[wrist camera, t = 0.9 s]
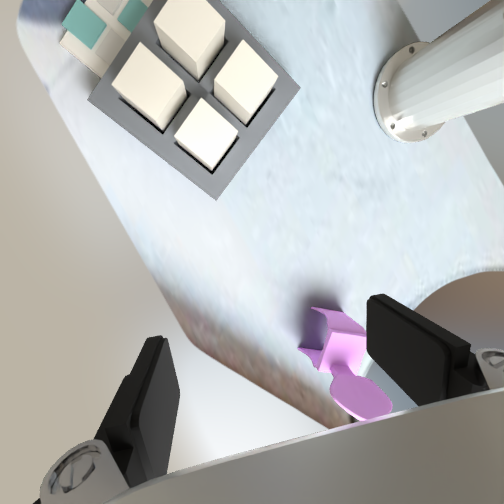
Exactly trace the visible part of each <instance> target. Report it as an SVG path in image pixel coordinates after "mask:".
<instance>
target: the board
mask: <svg viewBox="0 0 504 504" xmlns="http://www.w3.org/2000/svg"><path fill="white" fill-rule="evenodd" d="M167 1H168V0H86V2H85V4H83V3H82V2H81V1H80V0H76V2H75V4H74V5H73V7H72V8H71V10H70V12H69V13H68V15H67V16H66V18H65V19H64V21H63V23H62V26H63V27H65V28H66V29H67V32H66V33H65V35H64V37H63V38H62V40H61V41H60V43H59V44H60V45H61V46H62V47H63V48H65V49H66V50H67V51H68V52H70V53H71V54H72V55H73V56H74V57H76V58H77V59H78V60H79V61H81V62H82V63H83V64H84V65H85V66H87V67H88V68H89V69H90V70H91V71H93V72H94V73H95V74H96V75H98V76H99V77H100V78H101V80H100V81H99V83H98V84H97V86H96V87H95V89H94V90H93V92H92V93H91V95H90V96H89V98H88V99H87V100H88V101H89V102H91V103H92V104H93V105H94V106H96V107H97V108H98V109H100V110H101V111H102V112H103V113H105V114H106V115H107V116H108V117H110V118H111V119H112V120H114V121H115V122H116V123H117V124H119V125H120V126H121V127H123V128H124V129H125V130H126V131H128V132H129V133H130V134H132V135H133V136H134V137H135V138H137V139H138V140H139V141H140V142H142V143H143V144H144V145H146V146H147V147H148V148H149V149H151V150H152V151H153V152H155V153H156V154H157V155H158V156H160V157H161V158H162V159H164V160H165V161H166V162H167V163H169V164H170V165H171V166H172V167H174V168H175V169H176V170H178V171H179V172H180V173H181V174H183V175H184V176H185V177H187V178H188V179H189V180H190V181H192V182H193V183H194V184H196V185H197V186H198V187H199V188H201V189H202V190H203V191H204V192H206V193H207V194H208V195H210V196H211V197H212V198H213V199H215V200H217V199H218V198H219V196H220V195H221V194H222V192H223V191H224V190H225V188H226V187H227V186H228V184H229V183H230V182H231V180H232V179H233V178H234V176H235V175H236V174H237V172H238V171H239V170H240V168H241V167H242V166H243V164H244V163H245V162H246V160H247V159H248V158H249V156H250V155H251V153H252V152H253V151H254V149H255V148H256V147H257V145H258V144H259V143H260V141H261V140H262V139H263V137H264V136H265V135H266V133H267V132H268V131H269V129H270V128H271V127H272V125H273V124H274V123H275V121H276V120H277V119H278V117H279V116H280V115H281V113H282V112H283V111H284V109H285V108H286V107H287V105H288V104H289V103H290V101H291V100H292V99H293V97H294V96H295V95H296V93H297V92H298V91H299V89H300V86H299V85H298V84H297V83H296V82H295V81H294V80H293V79H292V78H291V77H290V76H289V75H288V74H287V73H286V71H285V70H284V69H283V68H282V67H281V66H280V65H279V64H278V63H277V62H276V61H275V60H274V59H273V58H272V56H271V55H270V54H269V53H268V52H267V51H266V50H265V49H264V48H263V47H262V46H261V45H260V44H259V43H258V41H257V40H256V39H255V38H254V37H253V36H252V35H251V34H250V33H249V32H248V31H247V30H246V29H245V27H244V26H243V25H242V24H241V23H240V22H239V21H238V20H237V19H236V18H235V17H234V16H233V15H232V14H231V12H230V11H229V10H228V9H227V8H226V7H225V6H224V5H223V4H222V3H221V2H220V1H219V0H206V1H207V2H208V3H209V4H210V5H211V6H212V7H213V8H214V9H215V10H216V11H217V12H218V13H219V14H220V15H221V16H222V18H223V19H224V20H225V33H224V46H223V48H222V49H221V50H220V52H221V53H220V54H219V56H218V57H217V59H216V60H215V61H214V63H213V64H212V66H211V67H210V68H209V70H208V71H207V73H206V74H205V76H204V77H203V78H202V80H201V81H200V83H198V82H197V81H196V80H195V79H194V78H192V77H191V76H190V75H189V74H188V73H187V72H186V71H185V70H184V69H183V68H182V67H181V66H179V65H178V64H177V63H176V62H175V61H174V60H173V59H172V58H171V57H170V56H169V55H168V54H167V52H166V51H165V50H164V49H163V48H162V46H161V43H160V40H159V37H158V34H157V31H156V28H155V25H154V20H155V19H156V17H157V16H158V14H159V13H160V11H161V10H162V8H163V7H164V5H165V4H166V2H167ZM242 40H244V41H245V42H246V43H247V44H248V45H249V46H250V47H251V48H252V49H253V50H254V51H255V52H256V53H257V54H258V55H259V56H260V58H261V59H262V60H263V61H264V62H265V63H266V64H267V65H268V66H269V67H270V68H271V69H272V70H273V71H274V72H275V73H276V74H277V75H278V78H277V80H276V82H275V84H274V85H273V87H272V89H271V91H270V93H269V94H268V95H267V97H266V98H267V99H268V101H267V102H266V103H265V105H264V106H263V107H262V109H261V110H260V111H259V113H258V114H257V115H256V117H255V118H254V119H253V121H252V122H251V124H250V125H249V126H248V128H246V127H245V126H244V125H243V124H242V123H241V122H240V121H239V120H238V119H237V118H236V117H235V116H233V115H232V114H231V113H230V112H229V111H228V110H227V109H226V108H225V107H224V106H223V105H222V104H221V103H219V102H218V101H217V100H216V99H215V96H214V79H215V78H216V76H217V75H218V74H219V72H220V71H221V69H222V68H223V66H224V65H225V64H226V62H227V61H228V59H229V58H230V57H231V55H232V54H233V52H234V51H235V50H236V48H237V47H238V45H239V44H240V43H241V41H242ZM139 42H141V43H142V44H143V45H144V46H145V47H146V48H147V49H149V50H150V51H151V52H152V53H153V54H154V55H155V56H156V57H157V58H158V59H160V60H161V61H162V62H163V63H164V64H165V65H166V66H167V67H168V68H169V69H171V70H172V71H173V72H174V73H175V74H176V75H177V76H178V77H179V78H180V79H182V80H183V82H184V86H185V90H186V94H187V101H186V103H185V104H184V105H183V107H182V108H181V110H180V111H179V112H178V114H177V115H176V117H175V118H174V120H173V121H172V122H171V124H170V125H169V127H168V128H167V129H166V131H165V132H164V134H161V133H160V132H159V131H158V130H156V129H155V128H154V127H153V126H152V125H150V124H149V123H148V122H147V121H145V120H144V119H143V118H142V117H140V116H139V115H138V114H137V113H136V112H134V111H133V110H132V109H131V108H130V107H131V106H132V105H130V104H129V103H128V102H127V101H126V100H125V99H124V98H123V97H122V96H121V95H120V94H119V92H118V91H117V90H116V89H115V88H114V87H113V86H112V85H111V84H112V83H113V81H114V80H115V78H116V77H117V75H118V74H119V72H120V71H121V69H122V68H123V66H124V65H125V63H126V62H127V60H128V59H129V57H130V56H131V54H132V53H133V51H134V50H135V48H136V47H137V45H138V44H139ZM201 98H202V99H204V100H205V101H206V102H207V103H208V104H209V105H210V106H211V107H212V108H213V109H215V110H216V111H217V112H218V113H219V114H220V115H221V116H222V117H223V118H224V119H225V120H227V121H228V122H229V123H230V124H231V125H232V126H233V127H234V128H235V129H236V130H238V133H237V135H236V138H235V140H234V142H235V143H236V144H235V145H234V146H233V148H232V149H231V151H230V152H229V153H228V155H227V156H226V157H225V159H224V160H223V161H222V163H221V164H220V165H219V167H218V168H217V169H216V171H215V172H214V174H213V175H212V174H211V173H209V172H208V171H207V170H206V169H204V168H203V167H202V166H201V165H199V164H198V163H197V162H196V161H195V160H193V159H192V158H191V157H190V156H188V155H187V154H186V153H185V152H183V151H182V150H181V149H180V148H179V146H180V145H179V143H178V142H177V140H176V138H175V137H174V135H175V134H176V133H177V131H178V130H179V128H180V127H181V126H182V124H183V123H184V121H185V120H186V119H187V117H188V116H189V114H190V113H191V112H192V110H193V109H194V107H195V106H196V104H197V103H198V102H199V100H200V99H201Z"/></svg>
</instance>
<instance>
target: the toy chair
mask: <svg viewBox="0 0 504 504" xmlns="http://www.w3.org/2000/svg"><path fill="white" fill-rule="evenodd" d="M311 309H313V310H316V311H319V312H321V313H322V314H324V315H325V316H326V318H327V326H328V332H327V336H326V339H325V343H324V346H323V349H322V350H314V349H307V348H298V350H299V351H301V352H303V353H304V354H306V355H307V356H308V357H310V359H311V360H312V363H313V366H314V367H316V368H317V370H318V371H320V372H331V373H332V375H333V377H334V379H333V381H332V383H331V385H330V393H331V396H332V397H333V399H334V400H335V401H336V402H337V403H338V404H339V405H340V406H341V407H342V408H343V409H344V410H346V411H347V412H348V413H349V414H351V415H352V416H354V417H355V418H357V419H358V420H360V421H364V420H368V419H372V418H375V417H379V416H383V415H387V414H389V413H390V412H391V410H392V402H391V400H390V399H389V398H388V396H387V395H386V394H385V393H384V392H383V391H382V390H381V389H380V388H379V387H378V386H377V385H376V384H375V383H374V382H373V381H372V380H370V379H367V378H364V377H361V376H356V375H357V372H358V370H359V367H360V364H361V360H362V358H363V355H364V353H365V351H366V331H365V329H364V328H363V327H362V326H360V325H359V324H358V323H357V322H355V321H354V320H353V319H351V318H350V317H349V316H347V315H346V314H345V313H344V312H340V311H334V310H328V309H322V308H317V307H311Z"/></svg>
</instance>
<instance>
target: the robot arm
mask: <svg viewBox="0 0 504 504" xmlns="http://www.w3.org/2000/svg"><path fill="white" fill-rule="evenodd" d="M502 103H504V0H491V1H489V2H487V3H486V4H485V5H483V6H482V7H481V8H479V9H478V10H476V11H475V12H473V13H472V14H470V15H469V16H468V17H466V18H465V19H464V20H462V21H461V22H459V23H458V24H456V25H455V26H454V27H452V28H451V29H449V30H448V31H446V32H445V33H444V34H442V35H441V36H439V37H438V38H437V39H435V40H434V41H432V42H431V43H429V42H415V43H411V44H409V45H407V46H405V47H403V48H402V49H400V50H399V51H398V52H396V53H395V54H394V55H393V56H392V57H391V58H390V59H389V60H388V61H387V62H386V64H385V65H384V67H383V68H382V70H381V72H380V74H379V77H378V79H377V82H376V86H375V92H374V108H375V114H376V117H377V120H378V122H379V124H380V126H381V128H382V129H383V131H384V132H385V133H386V134H387V135H388V136H389V137H390V138H392V139H394V140H396V141H398V142H402V143H414V142H419V141H422V140H425V139H427V138H429V137H430V136H432V135H434V134H435V133H436V132H437V131H438V130H439V129H440V128H441V127H442V126H443V124H444V123H445V122H446V121H449V120H452V119H455V118H458V117H461V116H464V115H467V114H471V113H473V112H477V111H480V110H483V109H486V108H489V107H492V106H495V105H498V104H502ZM470 347H471V344H470V343H468V342H466V341H465V340H463V339H461V338H460V337H458V336H456V335H454V334H453V333H451V332H449V331H447V330H446V329H444V328H442V327H440V326H439V325H437V324H435V323H434V322H432V321H430V320H428V319H427V318H425V317H423V316H421V315H420V314H418V313H416V312H415V311H413V310H411V309H409V308H408V307H406V306H404V305H403V304H401V303H399V302H397V301H396V300H394V299H392V298H390V297H389V296H387V295H385V294H378V295H373V296H370V298H369V299H368V300H367V325H366V349H367V352H368V354H369V355H370V357H371V358H372V359H373V360H374V361H375V362H376V363H377V364H378V365H379V366H380V367H381V368H382V369H383V370H384V371H385V372H386V373H387V374H388V375H389V376H390V377H391V378H392V379H393V380H394V381H395V382H396V383H397V384H398V386H399V387H400V388H401V389H402V390H403V391H404V392H405V393H406V394H407V395H408V396H409V397H410V398H411V399H412V400H413V401H414V402H415V403H416V404H417V405H418V406H419V407H415V408H411V409H407V410H403V411H399V412H395V413H391V414H387V415H383V416H379V417H375V418H372V419H368V420H364V421H360V422H356V423H352V424H348V425H344V426H341V427H337V428H333V429H329V430H325V431H322V432H317V433H314V434H310V435H306V436H302V437H298V438H295V439H291V440H287V441H283V442H280V443H276V444H272V445H268V446H265V447H261V448H257V449H253V450H250V451H246V452H242V453H238V454H235V455H231V456H227V457H224V458H220V459H217V460H213V461H210V462H206V463H203V464H199V465H196V466H192V467H189V468H185V469H182V470H178V471H175V472H172V473H170V474H167V468H168V463H169V457H170V451H171V446H172V439H173V434H174V428H175V422H176V416H177V410H178V405H179V398H180V389H179V385H178V380H177V376H176V372H175V368H174V364H173V359H172V356H171V351H170V347H169V343H168V339H167V338H163V337H162V336H161V335H160V336H155V337H149V338H147V339H146V341H145V343H144V346H143V347H142V350H141V352H140V354H139V356H138V358H137V360H136V362H135V364H134V367H133V369H132V371H131V373H130V374H129V375H127V376H125V378H124V379H123V381H122V383H121V385H120V387H119V389H118V391H117V393H116V395H115V397H114V399H113V401H112V403H111V405H110V407H109V409H108V411H107V413H106V415H105V417H104V419H103V421H102V423H101V425H100V427H99V429H98V431H97V433H96V435H95V437H94V439H93V440H88V441H85V442H83V443H80V444H78V445H77V446H75V447H73V448H72V449H70V450H69V451H67V452H66V453H65V454H64V455H63V456H62V457H60V458H59V459H58V460H57V462H56V463H55V464H54V465H53V466H52V467H51V468H50V470H49V471H48V473H47V474H46V476H45V477H44V479H43V482H42V484H41V487H40V498H39V499H38V500H37V501H35V502H34V503H33V504H504V350H500V349H493V348H482V349H479V350H477V352H476V353H475V354H474V353H472V352H470Z"/></svg>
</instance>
